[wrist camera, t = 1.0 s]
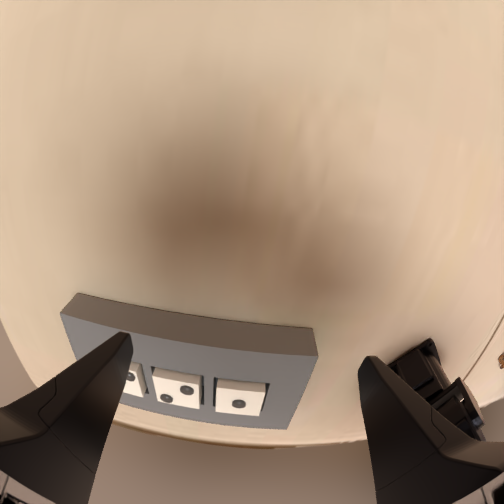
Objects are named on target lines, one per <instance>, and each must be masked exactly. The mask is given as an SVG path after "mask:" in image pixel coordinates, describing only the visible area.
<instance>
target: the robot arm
mask: <svg viewBox="0 0 504 504" xmlns="http://www.w3.org/2000/svg"><path fill="white" fill-rule="evenodd" d="M132 356H133V344H132V339H131V335H130V333H127V332H123V331H119V332H118V333H116V334H115V335H113V336H112V337H110V338H109V339H108V340H106V341H105V342H103V343H102V344H100V345H99V346H98V347H96V348H95V349H93V350H92V351H90V352H89V353H88V354H86V355H85V356H83V357H82V358H80V359H79V360H78V361H76V362H75V363H73V364H72V365H71V366H69V367H68V368H66V369H65V370H63V371H62V372H61V373H59V374H58V375H56V377H54V378H52V379H51V380H49V381H48V382H46V383H45V384H43V385H42V386H40V387H39V388H37V389H36V390H34V391H32V392H31V393H29V394H27V395H25V396H24V397H22V398H20V399H18V400H16V401H14V402H13V403H11V404H9V405H7V406H4V407H1V408H0V504H88V501H89V497H90V493H91V489H92V486H93V482H94V479H95V474H96V471H97V468H98V464H99V461H100V457H101V454H102V451H103V448H104V445H105V442H106V439H107V436H108V432H109V429H110V427H111V424H112V421H113V418H114V415H115V412H116V409H117V407H118V404H119V401H120V398H121V396H122V393H123V390H124V387H125V384H126V380H127V376H128V372H129V368H130V364H131V360H132ZM358 381H359V391H360V401H361V408H362V414H363V418H364V424H365V429H366V434H367V439H368V445H369V451H370V457H371V463H372V469H373V476H374V483H375V490H376V499H377V504H504V442H486V439H485V437H484V435H483V433H482V430H481V427H482V426H484V425H485V422H484V419H483V416H482V414H481V411H480V409H479V406H478V404H477V401H476V399H475V398H474V396H473V394H472V393H471V391H470V389H469V388H468V386H467V385H466V384H465V383H464V382H463V380H462V379H461V378H460V377H458V378H457V379H456V380H455V381H454V382H453V383H452V384H451V383H450V382H449V380H448V378H447V376H446V374H445V373H444V371H443V369H442V367H441V363H440V359H439V356H438V353H437V350H436V347H435V344H434V342H433V340H432V339H429V340H427V341H426V342H425V343H423V344H422V345H420V346H419V347H417V348H416V349H414V350H413V351H411V352H410V353H408V354H406V355H405V356H403V357H402V358H400V359H399V360H397V361H395V362H394V363H392V364H390V365H389V366H387V365H386V364H384V363H383V362H382V361H381V360H380V359H379V358H378V357H376V356H367V357H365V359H364V361H363V363H362V364H361V366H360V368H359V370H358ZM463 398H464V400H463V401H461V400H462V399H463ZM460 401H461V402H460Z"/></svg>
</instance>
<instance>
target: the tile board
mask: <svg viewBox="0 0 504 504" xmlns="http://www.w3.org/2000/svg"><path fill="white" fill-rule="evenodd" d="M60 316H61V319H62V322H63V325H64V328H65V331H66V333H67V336H68V339H69V342H70V344H71V347H72V350H73V352H74V355H75V357H76V359H77V361H78V360H79V359H80V358H82V357H83V356H85V355H86V354H88V353H89V352H90V351H92V350H93V349H95V348H96V347H98V346H99V345H100V344H102V343H103V342H105V341H106V340H108V339H109V338H110V337H112V336H113V335H115V334H116V333H118V332H119V331H123V332H127V333H130V335H131V339H132V344H133V356H132V360H131V361H132V362H137V363H141V364H142V367H143V371H144V375H145V379H146V383H147V389H146V391H145V394H144V397H139V396H135V395H132V394H128V393H124V392H123V393H122V396H121V398H120V401H119V403H121V404H124V405H128V406H131V407H135V408H138V409H142V410H146V411H150V412H154V413H158V414H163V415H167V416H172V417H177V418H182V419H187V420H193V421H199V422H205V423H212V424H220V425H228V426H237V427H248V428H262V429H287V427H288V425H289V423H290V421H291V419H292V417H293V415H294V413H295V410H296V408H297V406H298V404H299V402H300V399H301V397H302V395H303V393H304V390H305V388H306V386H307V383H308V381H309V379H310V376H311V374H312V371H313V369H314V366H315V364H316V361H317V359H318V352H317V347H316V342H315V338H314V333H313V329H311V328H298V327H286V326H275V325H264V324H255V323H246V322H237V321H229V320H221V319H214V318H207V317H200V316H193V315H187V314H180V313H174V312H168V311H163V310H157V309H151V308H146V307H141V306H135V305H130V304H125V303H120V302H116V301H111V300H106V299H102V298H97V297H93V296H89V295H85V294H80V293H77V294H76V295H75V296H74V297H73V299H72V300H71V301H70V302H69V303H68V304H67V305H66V306H65V307H64V309H63V310H62V311H61V312H60ZM155 367H159V368H163V369H168V370H173V371H179V372H184V373H190V374H196V375H202V398H201V403H200V408H199V409H195V408H189V407H184V406H179V405H174V404H169V403H164V402H160V401H158V400H157V395H156V391H155V387H154V382H153V378H152V375H153V372H154V370H155ZM218 378H223V379H231V380H240V381H250V382H261V383H265V396H264V400H263V403H262V407H261V410H260V414H259V416H251V415H240V414H231V413H222V412H215V411H216V389H217V382H218Z"/></svg>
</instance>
